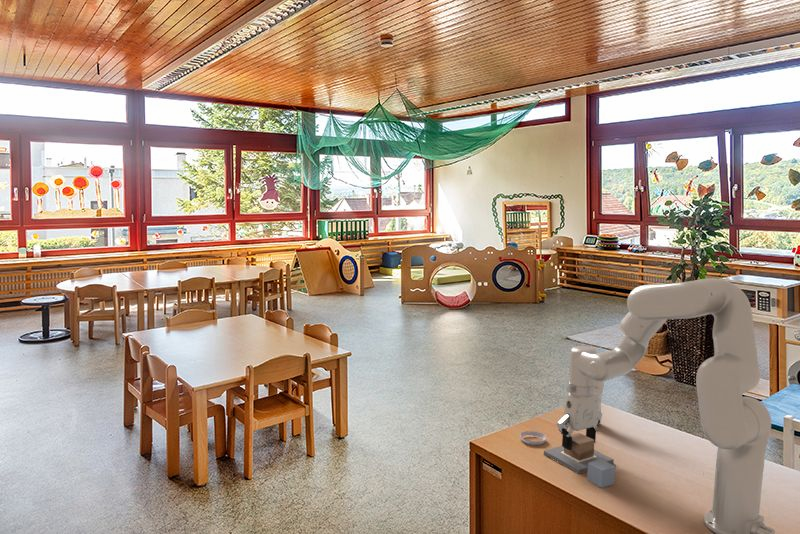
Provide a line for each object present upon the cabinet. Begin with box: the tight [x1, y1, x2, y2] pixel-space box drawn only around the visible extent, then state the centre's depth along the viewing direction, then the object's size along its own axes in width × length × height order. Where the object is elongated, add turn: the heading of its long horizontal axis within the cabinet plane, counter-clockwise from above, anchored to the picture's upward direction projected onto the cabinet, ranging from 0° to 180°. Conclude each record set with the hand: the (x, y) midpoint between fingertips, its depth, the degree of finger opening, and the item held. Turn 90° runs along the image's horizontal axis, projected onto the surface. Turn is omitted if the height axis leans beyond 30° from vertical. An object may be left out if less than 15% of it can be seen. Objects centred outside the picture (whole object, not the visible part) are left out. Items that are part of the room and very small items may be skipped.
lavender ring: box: [520, 430, 547, 446], centre depth 186 cm, size 8×8×2 cm
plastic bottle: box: [595, 381, 605, 425], centre depth 199 cm, size 6×7×20 cm
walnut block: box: [564, 432, 596, 460], centre depth 174 cm, size 6×6×5 cm
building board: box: [543, 445, 615, 475], centre depth 174 cm, size 14×14×1 cm
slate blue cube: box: [586, 459, 616, 488], centre depth 160 cm, size 5×5×5 cm
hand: (578, 444), depth 174 cm, fingers open, 9 cm apart
